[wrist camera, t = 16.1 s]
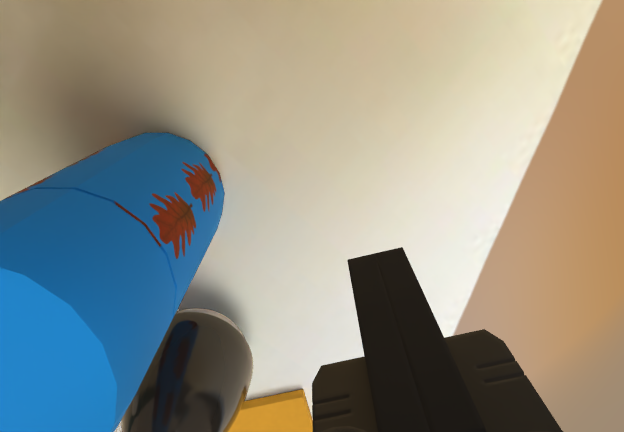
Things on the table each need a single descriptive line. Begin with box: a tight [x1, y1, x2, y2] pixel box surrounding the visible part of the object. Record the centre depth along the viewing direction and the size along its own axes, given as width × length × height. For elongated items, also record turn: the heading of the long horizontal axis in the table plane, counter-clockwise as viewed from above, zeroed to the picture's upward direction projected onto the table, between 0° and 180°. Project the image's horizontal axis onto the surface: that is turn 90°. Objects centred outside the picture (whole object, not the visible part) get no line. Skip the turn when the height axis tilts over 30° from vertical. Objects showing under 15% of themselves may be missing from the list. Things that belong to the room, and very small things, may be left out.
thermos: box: [0, 133, 225, 432], centre depth 30 cm, size 11×11×25 cm
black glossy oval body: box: [121, 308, 253, 432], centre depth 40 cm, size 10×10×15 cm
